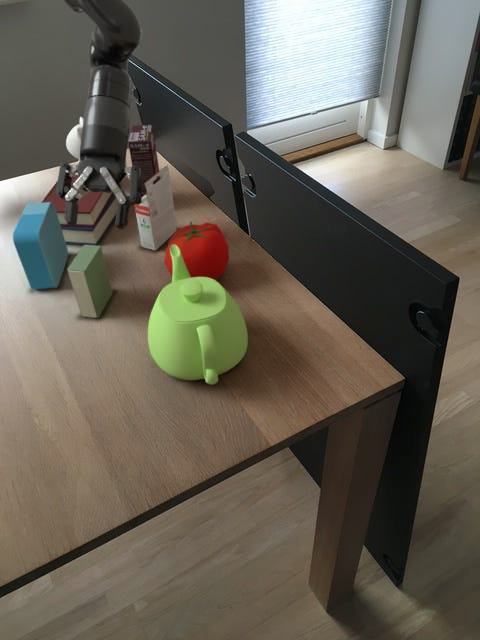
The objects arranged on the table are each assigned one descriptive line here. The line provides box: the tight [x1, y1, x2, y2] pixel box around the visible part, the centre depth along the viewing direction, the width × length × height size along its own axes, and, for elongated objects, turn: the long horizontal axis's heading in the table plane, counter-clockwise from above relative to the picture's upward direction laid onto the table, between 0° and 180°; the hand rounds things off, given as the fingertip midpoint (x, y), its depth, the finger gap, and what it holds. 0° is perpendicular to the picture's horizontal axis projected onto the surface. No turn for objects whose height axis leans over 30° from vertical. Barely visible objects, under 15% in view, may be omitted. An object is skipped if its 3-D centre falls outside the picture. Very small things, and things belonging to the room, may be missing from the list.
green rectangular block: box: [66, 245, 114, 319], centre depth 90 cm, size 3×7×10 cm, turn 170°
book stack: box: [40, 174, 120, 246], centre depth 112 cm, size 12×16×7 cm
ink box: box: [134, 165, 178, 251], centre depth 103 cm, size 4×8×15 cm, turn 153°
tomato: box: [164, 220, 230, 281], centre depth 95 cm, size 11×13×10 cm
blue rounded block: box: [12, 202, 69, 290], centre depth 97 cm, size 12×4×12 cm, turn 3°
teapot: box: [147, 244, 249, 385], centre depth 80 cm, size 22×15×13 cm
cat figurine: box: [65, 116, 128, 167], centre depth 122 cm, size 9×12×15 cm
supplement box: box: [127, 124, 161, 197], centre depth 114 cm, size 9×5×16 cm, turn 4°
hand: (95, 226), depth 90 cm, fingers open, 8 cm apart
